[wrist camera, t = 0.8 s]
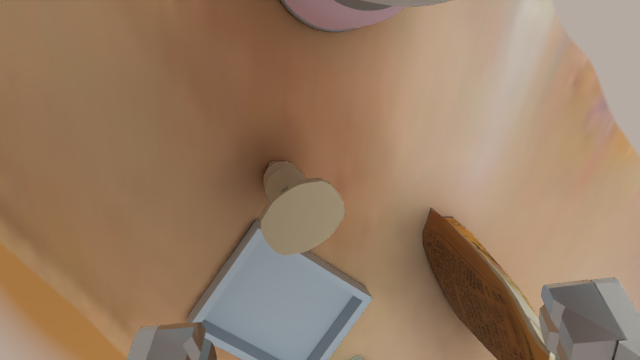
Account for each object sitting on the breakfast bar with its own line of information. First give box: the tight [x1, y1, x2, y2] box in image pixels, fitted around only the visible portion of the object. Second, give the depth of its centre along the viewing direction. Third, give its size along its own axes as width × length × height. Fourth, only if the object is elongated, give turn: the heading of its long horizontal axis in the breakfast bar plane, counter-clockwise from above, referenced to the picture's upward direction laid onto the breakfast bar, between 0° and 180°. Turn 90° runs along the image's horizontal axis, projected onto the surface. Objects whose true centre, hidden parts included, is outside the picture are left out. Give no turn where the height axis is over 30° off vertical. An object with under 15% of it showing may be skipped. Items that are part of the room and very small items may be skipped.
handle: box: [260, 160, 345, 256], centre depth 45 cm, size 5×6×15 cm
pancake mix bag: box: [423, 208, 555, 360], centre depth 45 cm, size 7×19×28 cm, turn 27°
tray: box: [187, 219, 373, 360], centre depth 54 cm, size 15×13×3 cm
